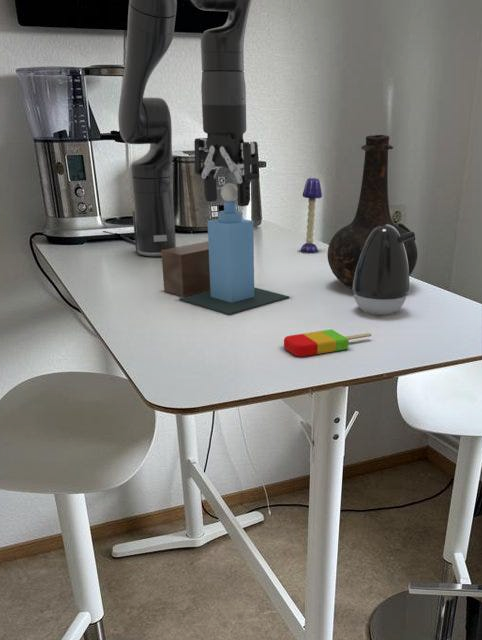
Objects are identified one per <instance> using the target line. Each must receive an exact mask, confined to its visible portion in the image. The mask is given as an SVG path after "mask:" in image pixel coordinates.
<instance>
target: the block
mask: <svg viewBox="0 0 482 640" xmlns="http://www.w3.org/2000/svg"><path fill="white" fill-rule="evenodd" d="M161 255H162V256H161V267H162V279H163V292H166V293H169V294H173V295H176V296H179V297H181V298H184V297H188V296H192V295H196V294H200V293H204V292H208V291H210V268H209V245H208V241H203V242H197V243H192V244H187V245H181V246H176V247H175V248H170V249H165V250H161Z"/></svg>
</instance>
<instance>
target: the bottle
mask: <svg viewBox="0 0 482 640" xmlns="http://www.w3.org/2000/svg"><path fill="white" fill-rule="evenodd" d="M220 196H221V199H222V200H223V210H220V211H218V213H217V215H218V217H217V219H216V218H215V219H211V220H207V242H208V245H209V268H210V290H209V291H210V292H211V297H213V298H216V299H220V300H224V301H227V302H231V303H233V302H237V301H241V300H244V299H248V298H252V297H254V288H255V238H254V237H255V236H254V235H255V234H254V232H255V231H254V225H255V223H254V220H250V219H245V218H243V211H240V210H237V201H236V200H238V198H237V185H235V184H234V183H232V182H228V183H225V184H223V186H222V187H221V189H220Z"/></svg>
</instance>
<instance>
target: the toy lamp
mask: <svg viewBox="0 0 482 640" xmlns="http://www.w3.org/2000/svg"><path fill="white" fill-rule="evenodd" d="M322 192H323V191H322V186H321V180H320V178H315V177H309V178H307V179H306V181H305V184H304V188H303V192H302V198H306V199H308V201H307V202H308V205H307V209H308V211H307V220H306V222H307V225H306V239H305V241H306V243H304V244H303V245H302V246H301V247H300V251H301V252H302V253H306V254H315V253H318V252H319V250H318V246H317V245H316V244H315V243H313V242H314V238H313V237H314V235H315V234H314V233H315V232H314V230H315V216H316V212H315V210H316V202H317V201H316V199H322V198H323V193H322Z"/></svg>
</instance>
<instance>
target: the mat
mask: <svg viewBox="0 0 482 640" xmlns="http://www.w3.org/2000/svg"><path fill="white" fill-rule="evenodd" d="M287 299H290V296H289V295H287V294H286V295H285V294H282V293H278V292H273V291H270V290H266V289H263V288H258V287H254V297H252V298H248V299H244V300H241V301H237V302H233V303H231V302H227V301H224V300H220V299H216V298H213V297H211V292H210V290H209V291H205V292H201V293H197V294H193V295H189V296H185V297H180V298H178V300H179V301H181V302H185V303H188V304H191V305H194V306H197V307H200V308H201V307H202V308H205V309H208V310H211V311H214V312H218V313H221V314H224V315H227V316H231V315H234V314H238V313H242V312H245V311H249V310H251V309H255V308H259V307H262V306H265V305H269V304H272V303H276V302H280V301H284V300H287Z"/></svg>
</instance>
